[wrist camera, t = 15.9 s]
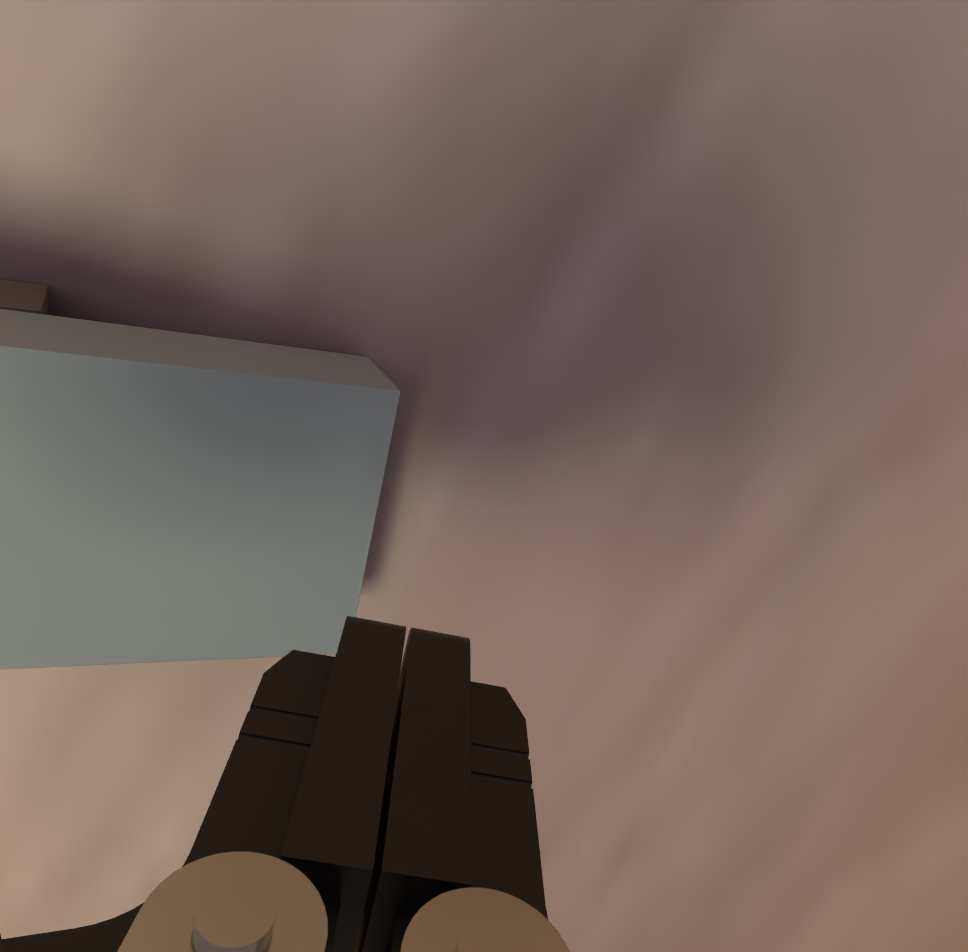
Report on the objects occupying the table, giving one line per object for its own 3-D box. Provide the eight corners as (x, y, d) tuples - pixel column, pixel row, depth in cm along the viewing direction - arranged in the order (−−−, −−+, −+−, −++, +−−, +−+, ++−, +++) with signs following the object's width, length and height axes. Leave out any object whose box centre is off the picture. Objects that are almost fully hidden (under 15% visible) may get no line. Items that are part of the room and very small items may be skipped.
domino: (400, 390, 13) (-514, 288, 8) (348, 653, 14) (-433, 688, 10) (367, 356, 14) (-407, 255, 10) (323, 595, 16) (-354, 602, 11)
